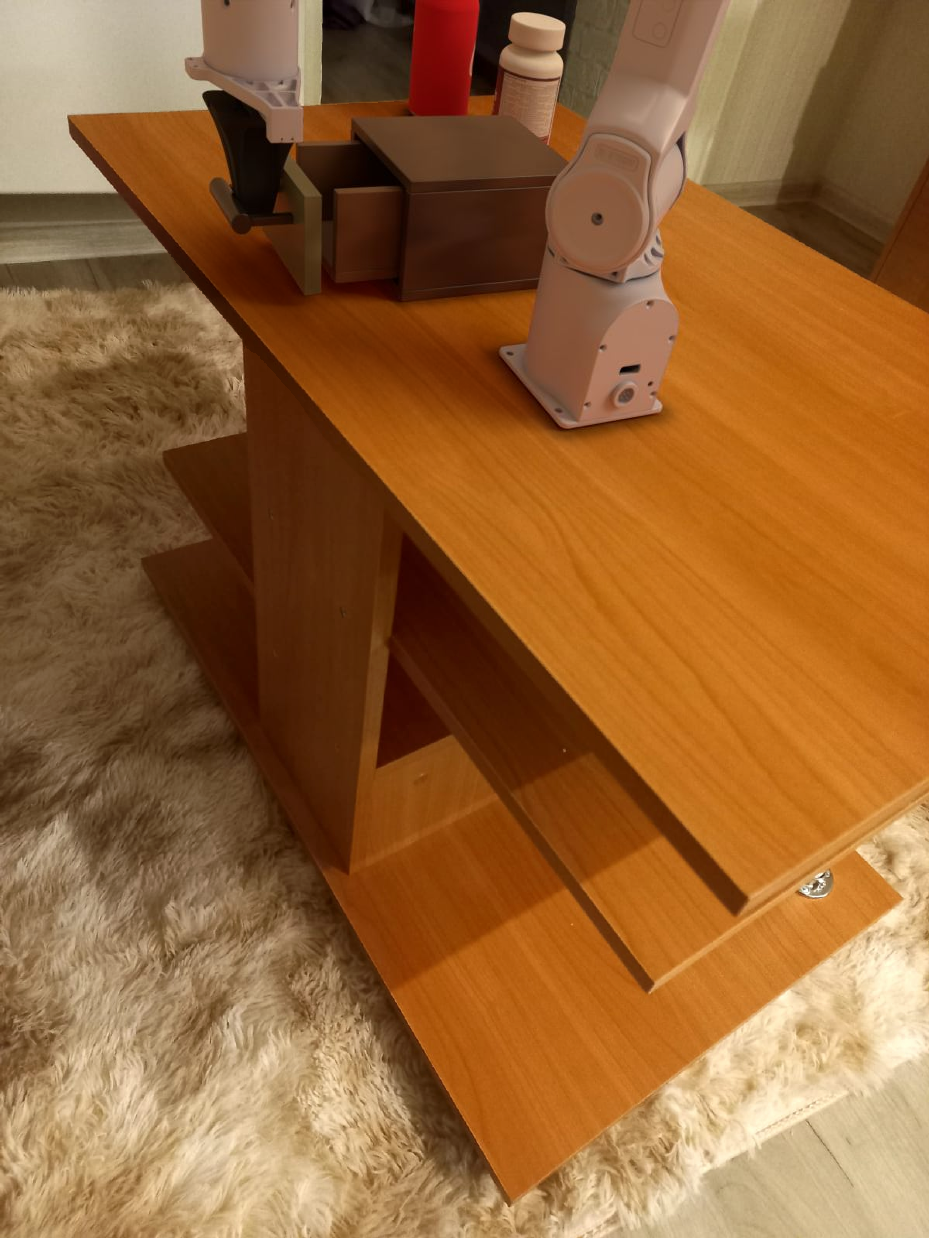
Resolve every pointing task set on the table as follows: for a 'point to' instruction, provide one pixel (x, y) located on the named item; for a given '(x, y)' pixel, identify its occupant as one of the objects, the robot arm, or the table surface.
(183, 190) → the table surface
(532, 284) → the cabinet
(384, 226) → the drawer
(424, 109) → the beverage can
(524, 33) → the pill bottle
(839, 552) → the table surface
